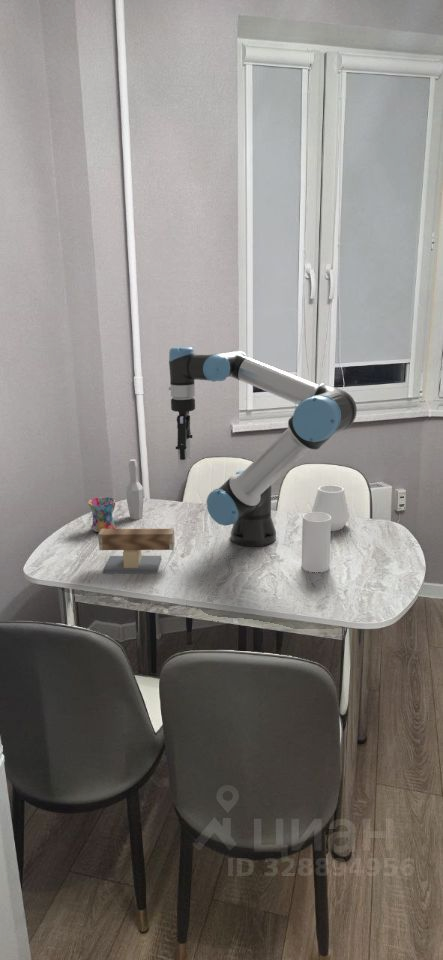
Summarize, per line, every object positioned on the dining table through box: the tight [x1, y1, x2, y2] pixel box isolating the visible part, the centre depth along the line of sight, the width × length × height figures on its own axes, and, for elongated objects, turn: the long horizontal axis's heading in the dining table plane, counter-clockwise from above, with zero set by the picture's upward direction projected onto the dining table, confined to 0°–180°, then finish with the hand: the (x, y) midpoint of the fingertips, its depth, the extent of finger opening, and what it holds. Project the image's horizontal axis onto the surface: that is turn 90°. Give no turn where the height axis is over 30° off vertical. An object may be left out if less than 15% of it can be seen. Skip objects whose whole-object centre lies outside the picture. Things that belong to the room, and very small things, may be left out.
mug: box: [87, 496, 116, 533], centre depth 216 cm, size 12×9×11 cm
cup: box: [301, 511, 332, 574], centre depth 182 cm, size 8×8×16 cm
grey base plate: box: [102, 550, 162, 574], centre depth 186 cm, size 16×10×6 cm, turn 88°
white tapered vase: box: [311, 484, 350, 532], centre depth 214 cm, size 13×13×14 cm
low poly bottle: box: [125, 458, 144, 520], centre depth 225 cm, size 6×6×22 cm
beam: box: [97, 527, 175, 551], centre depth 184 cm, size 22×5×5 cm, turn 88°
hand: (185, 463), depth 198 cm, fingers open, 13 cm apart
